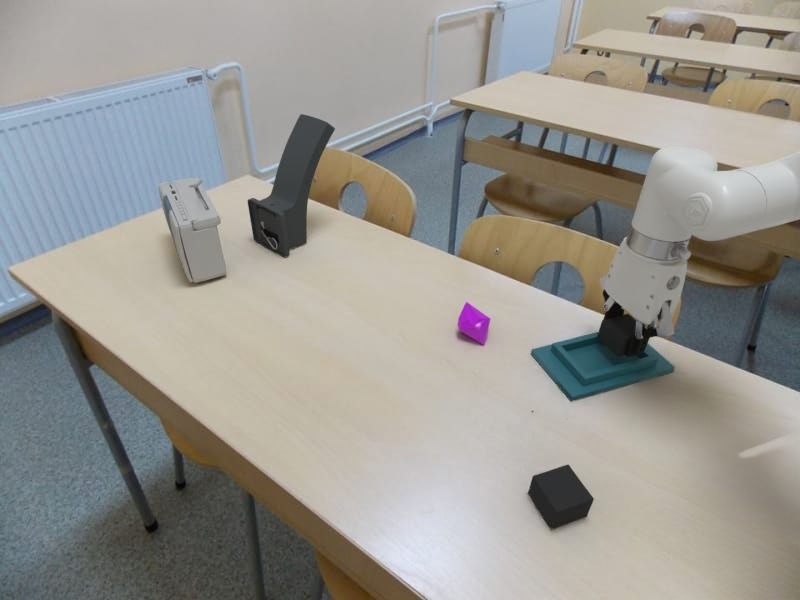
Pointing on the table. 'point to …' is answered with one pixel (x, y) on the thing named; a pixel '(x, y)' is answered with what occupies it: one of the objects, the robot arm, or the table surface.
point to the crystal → (473, 323)
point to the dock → (596, 366)
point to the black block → (617, 333)
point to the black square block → (560, 496)
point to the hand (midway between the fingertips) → (621, 341)
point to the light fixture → (290, 188)
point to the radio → (193, 228)
